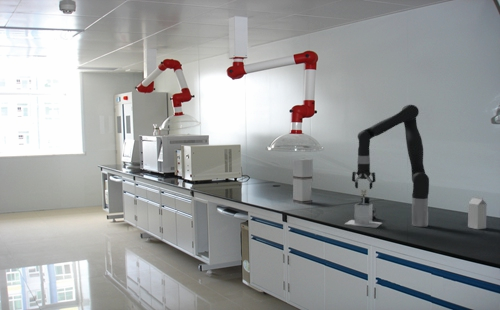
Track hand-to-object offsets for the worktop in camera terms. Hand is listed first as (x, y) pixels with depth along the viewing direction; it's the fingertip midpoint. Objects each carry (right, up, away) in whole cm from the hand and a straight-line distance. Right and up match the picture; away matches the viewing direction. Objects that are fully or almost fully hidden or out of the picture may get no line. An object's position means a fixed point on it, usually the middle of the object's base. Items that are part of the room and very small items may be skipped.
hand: (363, 188), depth 303 cm
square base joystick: (0, -23, +1) cm, 23 cm away
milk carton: (+66, -23, -11) cm, 71 cm away
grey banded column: (-29, -17, +88) cm, 94 cm away
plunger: (0, -18, +1) cm, 17 cm away
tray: (0, -23, +1) cm, 23 cm away
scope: (+7, -22, +20) cm, 30 cm away
